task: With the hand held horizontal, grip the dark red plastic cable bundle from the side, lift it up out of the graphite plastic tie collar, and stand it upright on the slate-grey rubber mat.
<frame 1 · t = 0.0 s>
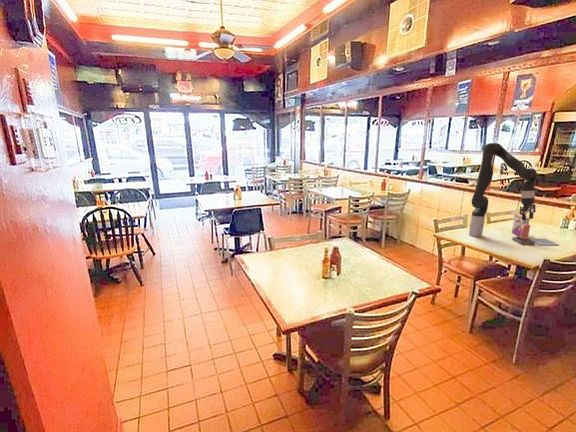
hand: (527, 219, 221), 22 cm above the table, tool pointing down, fingers open, 8 cm apart
candy bar box: (518, 235, 257), on the table
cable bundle: (524, 233, 239), in the tie collar
slate mat: (542, 242, 239), on the table
tie collar: (523, 242, 240), on the table
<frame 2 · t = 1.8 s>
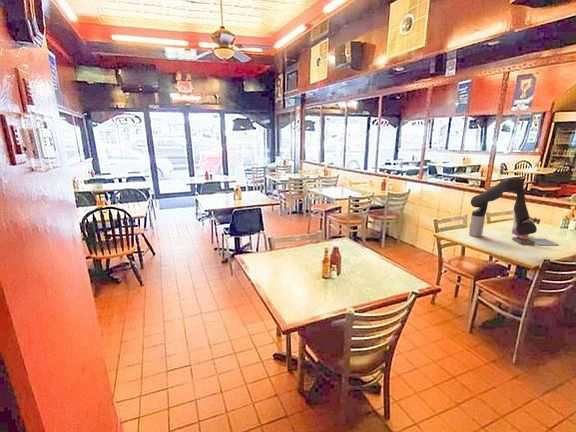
hand: (527, 218, 226), 22 cm above the table, tool horizontal, fingers open, 8 cm apart
nothing on the table moved.
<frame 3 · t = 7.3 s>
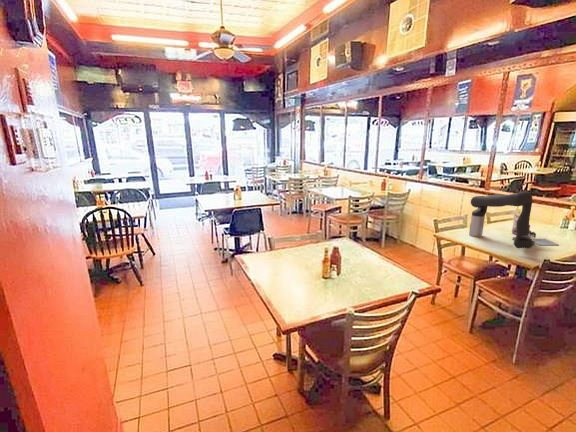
hand: (525, 230, 240), 9 cm above the table, tool horizontal, fingers closed on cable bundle, 5 cm apart
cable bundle: (524, 233, 239), in the tie collar, touching gripper
everything else where it was.
when the fingers open (10 cm above the table, at t = 14.2 s): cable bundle drops 1 cm, resting on slate mat.
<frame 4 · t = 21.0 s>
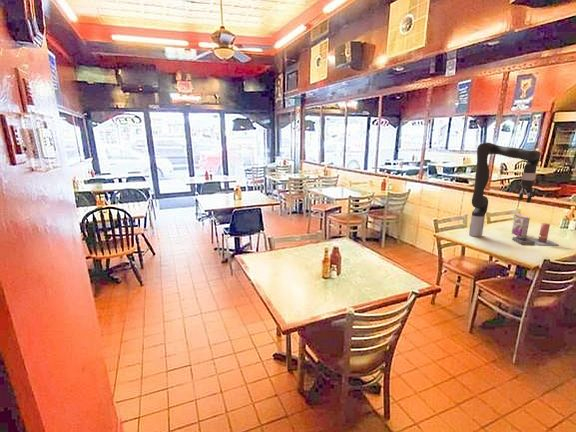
hand: (524, 201, 226), 34 cm above the table, tool pointing down, fingers open, 8 cm apart
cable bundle: (543, 232, 237), on the slate mat, point 8 cm above the table
everything else where it was.
at the end: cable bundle inside the target area on the slate mat (0.1 cm from its centre), point 7.6 cm above the slate mat's base; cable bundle tilted 0°; the gripper is holding nothing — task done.
